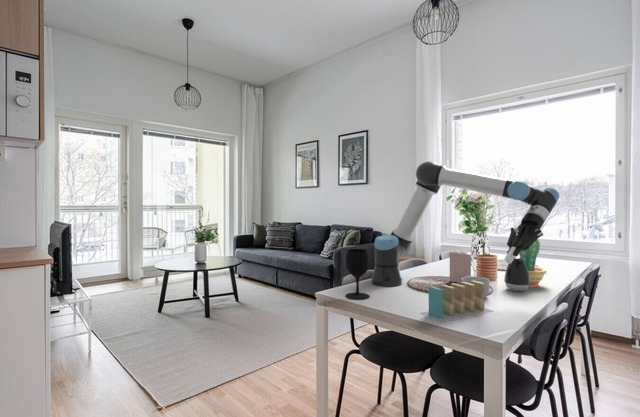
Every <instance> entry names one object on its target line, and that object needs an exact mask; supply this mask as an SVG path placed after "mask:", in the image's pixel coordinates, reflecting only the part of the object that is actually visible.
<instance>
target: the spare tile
mask: <svg viewBox="0 0 640 417" xmlns="http://www.w3.org/2000/svg"><path fill="white" fill-rule="evenodd" d="M428 312H429V315H431V316H434V317H436V318H438V319H440V318H443V289H440V288H439V287H436V286H433V285H431V286H428Z"/></svg>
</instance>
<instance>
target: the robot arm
mask: <svg viewBox="0 0 640 417" xmlns="http://www.w3.org/2000/svg"><path fill="white" fill-rule="evenodd" d="M415 177H416V179H417V181H416V182H415V186H416V189H415V191H414V192H413V195H412V197H411V199H410V201H409V203H408V205H407V207H406V210H405V211H404V214H403V215H402V218H401V219H400V221H399V224H398V225H397V227H396V228H395V229H392V230H391V233H390V234H389V235H388V234H387V235H386V234H385V235H380V236H377V237H376V238H375V240H374V244H373V245H374V268H373V272H372V276H371V279H370V280H371V282H370V283H371V284H373V285H375V286H380V287H397V286H401V285H403V279H402V277H401V273H400V269H399V259H402V258H404V257H406V256H407V255H408V254H409V252H410V251H411V246H412V245H411V244H412V242H413V234H414V232H415V230H416V228H417V226H418V224H419V222H420V221H421V218H422V217H423V215H424V213H425V211H426V209H427V207H428V205H429V203H430V201H431V200H432V197H433V196H434V195H437V194H438V192H439V191H440V189H441V187H442V186H447V187H453V188H457V189H463V190H467V191H473V192H477V193H483V194H487V195H493V196H497V197H502V198H506V199H507V198H508V199H511V200H512V199H513V200H515V201H520V202H523V203H525V204H527V205H528V206H530V207H529V208H528V210H527V211H526V213H525V214H524V216H523V217H522V219H521V220H520V224H519V225H518V226H517V227H515V228H514V227H511V228H510V233H509V236H508V240H507V243H506V245H507V247H508V249H507V251H506V253H507V254H506V255H505V257H504V261H505V262H506V263H507V264H509V263H510V264H511V263H512V261H513V260H514V258H515V257H518V255H520V254H519V253H520V251H522V250H525V251H526V250H527V249H528V248H529V247H530V246H531V245H532V244H533V243H534V242H535V241H536V240H537V239H538V240H539V238H540V237H542V236H544V233H543V231H542V230H541V229H542V227H543V225H544V224H545V222H546V221H547V219H548V217H549V216H550V214H551V212H552V211H553V209H554V208H555V206H556V205H557V202H558V201H559V199H560V193H559V191H558V190H557V189H555V188H553V187H548V186H546V187H542V188H541V189H539V188H536V187H534V186H531V185H529V184H528V183H527V182H525V181H523V180H517V179H513V178H512V179H508V178H502V177H497V176H491V175H486V174H480V173H475V172H469V171H463V170H458V169H453V168H447V167H446V165H443V164H442V165H441V164H440V163H436V162H433V161H425V162H421V164H419V166H417V168H416V171H415Z"/></svg>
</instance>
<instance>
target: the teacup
mask: <svg viewBox="0 0 640 417" xmlns="http://www.w3.org/2000/svg"><path fill="white" fill-rule="evenodd" d="M461 280H462V282H466V283H470V281H477V282H481V283H484V299H485V297H486V298H487V296H489V293H490V279H489V278H487V277H483V276H473V275H471V276H466V277H463V278H462V279H461Z"/></svg>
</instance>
